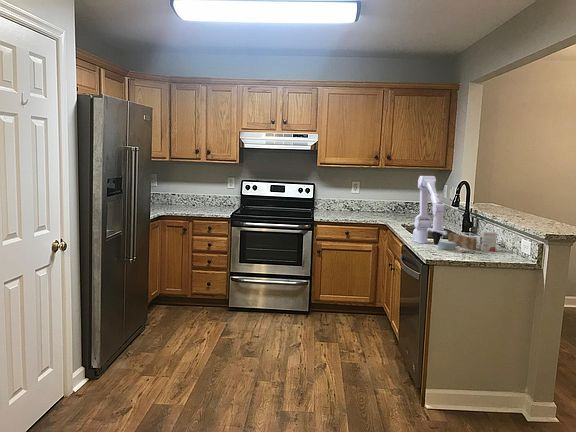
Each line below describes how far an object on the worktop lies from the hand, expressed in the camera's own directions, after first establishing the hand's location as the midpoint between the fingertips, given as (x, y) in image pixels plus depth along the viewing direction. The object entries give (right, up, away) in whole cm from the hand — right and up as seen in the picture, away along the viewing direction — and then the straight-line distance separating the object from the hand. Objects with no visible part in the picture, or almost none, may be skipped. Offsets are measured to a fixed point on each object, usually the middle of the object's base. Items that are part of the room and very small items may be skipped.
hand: (436, 244), depth 294 cm
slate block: (+8, -3, +5) cm, 10 cm away
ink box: (+32, -4, +2) cm, 33 cm away
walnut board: (+20, -2, +11) cm, 23 cm away
